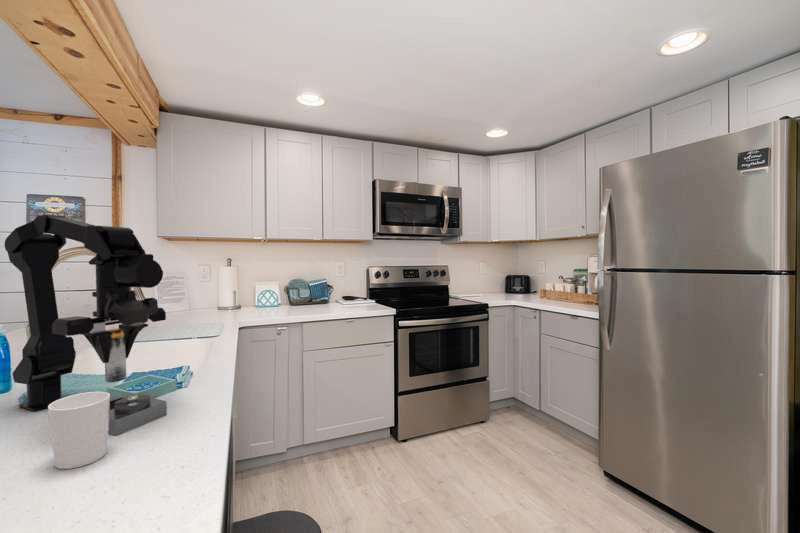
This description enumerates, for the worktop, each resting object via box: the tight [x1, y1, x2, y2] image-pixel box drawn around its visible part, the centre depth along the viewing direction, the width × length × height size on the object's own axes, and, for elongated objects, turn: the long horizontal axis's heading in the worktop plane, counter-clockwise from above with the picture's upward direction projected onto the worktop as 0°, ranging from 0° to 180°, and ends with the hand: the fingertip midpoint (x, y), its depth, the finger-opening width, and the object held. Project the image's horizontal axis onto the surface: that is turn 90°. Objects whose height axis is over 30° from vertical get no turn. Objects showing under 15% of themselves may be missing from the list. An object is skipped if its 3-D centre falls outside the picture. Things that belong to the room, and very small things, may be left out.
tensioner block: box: [108, 393, 168, 437], centre depth 77 cm, size 12×10×5 cm
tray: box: [106, 374, 178, 399], centre depth 91 cm, size 10×10×2 cm
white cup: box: [47, 391, 110, 470], centre depth 62 cm, size 8×8×10 cm
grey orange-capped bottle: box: [104, 327, 127, 383], centre depth 77 cm, size 4×4×10 cm
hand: (115, 360), depth 77 cm, fingers closed on grey orange-capped bottle, 3 cm apart
